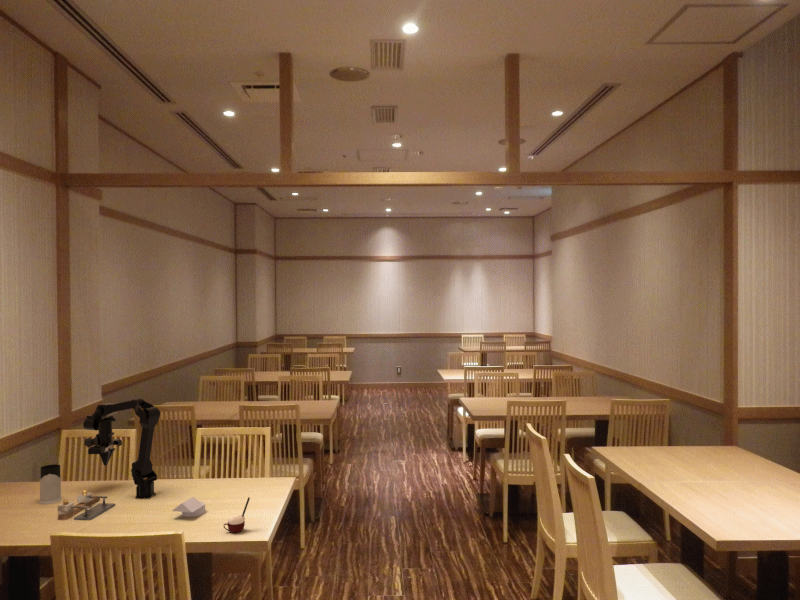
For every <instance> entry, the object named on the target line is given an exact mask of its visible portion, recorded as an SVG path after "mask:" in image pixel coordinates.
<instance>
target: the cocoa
mask: <svg viewBox="0 0 800 600" xmlns="http://www.w3.org/2000/svg"><path fill="white" fill-rule="evenodd" d="M249 502H250V497H248V496H247V500H246V503H245V506H244V509H243V512H242V514H237V513H236V514H232V515H231V516H229V517H227V523H223V528H224V529H225V530H226V531H228V532H230V533H232V532H233V533H232V534H238V533H237V532H239V533H241V532H242V531H243V530H244V529H245V525H246V524H245V523H246V521H245V520H246V518H245V517H246V516H245V513H246V510H247V507H248V505H249ZM226 525H227V528H226V527H225V526H226ZM240 531H241V532H240Z"/></svg>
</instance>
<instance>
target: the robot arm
mask: <svg viewBox="0 0 800 600" xmlns="http://www.w3.org/2000/svg"><path fill="white" fill-rule="evenodd" d="M130 409H133V410H134V411H133V412H134V413H135V415H136V416H137V417H138V418H139V424H140V426H141V435H140V440H139V441H140V442H139V448H138V456H137V459H136V461H133V462H132V463H131V470H130V472H131V477H132V479H133V483H134V485H136V487H135V489H136V491H135V492H136V496H135V498H134V499H151V498H153V497H154V496H155V495H157V492H155V481H157V479H158V475H157V474H156V472H155V471H154V469H153V463H152V461H151V454H152V446H153V445H152V444H153V438H154V431H155V427H156V426H157V424H158V423H159V420H160V416H161V411H160V409H159V408H158V407H156V406H154V405H153V404H152V403H150V402H148V401H146V400H144V399H143V398H133V399H132V400H127V401H122V402H105V403H102V404H98V405H97V406H96V409H95V410H94V412H93V413H92V414H88V415H86V418H85V419H84V421H83V424H82V426H83V429H84V430H87V431H98V433H97V434H95V437H94V438H91V437H88V438H84V444H83V445H84V446H86V447H87V454H88V455H99V456H100V458H101V459H100V460H101V461H102V464H103V466H105V467H106V466H107V465H108V464H109V461H110V459H111V457H112V456H113V455H114V452H115V450H116V448H113V446H117V447H120V446H123V440H121V439H120V438H113V435H115V432H114V431H113V422H117V419H116V418H115V417H114V416H113V415H115V414H117V413H118V412H120V411H125V410H130Z"/></svg>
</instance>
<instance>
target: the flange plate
mask: <svg viewBox="0 0 800 600" xmlns="http://www.w3.org/2000/svg"><path fill="white" fill-rule="evenodd" d="M115 506H116V503H114V502H113V503H111V502H109V503H106V502H105V505H103V502H101V503H96V505H94V506H93V507H91V508H88V509H87V516H85V511H84V512H82V513H80V514H78V515H76V516H75V517H74V518H73V520H74V521H92V520H93V519H96V518H97V517H98V516H101V515H102V514H104V513H105V512H107V511H109V510H111V509H112V508H114V507H115Z"/></svg>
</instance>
